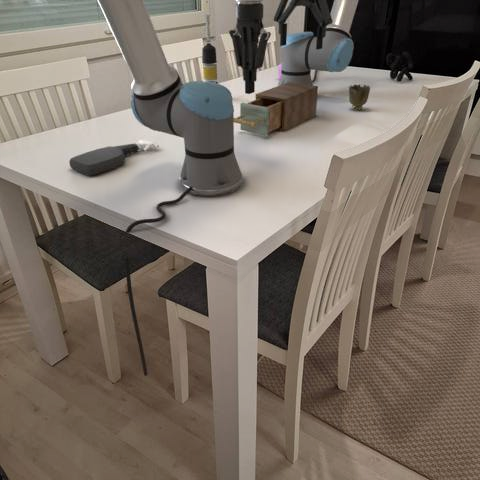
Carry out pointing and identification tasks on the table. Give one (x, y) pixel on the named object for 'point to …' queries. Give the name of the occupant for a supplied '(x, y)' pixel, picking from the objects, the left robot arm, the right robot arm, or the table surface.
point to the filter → (209, 57)
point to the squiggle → (399, 66)
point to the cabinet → (293, 102)
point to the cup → (358, 96)
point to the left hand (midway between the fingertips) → (249, 92)
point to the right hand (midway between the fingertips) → (300, 47)
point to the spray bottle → (106, 157)
